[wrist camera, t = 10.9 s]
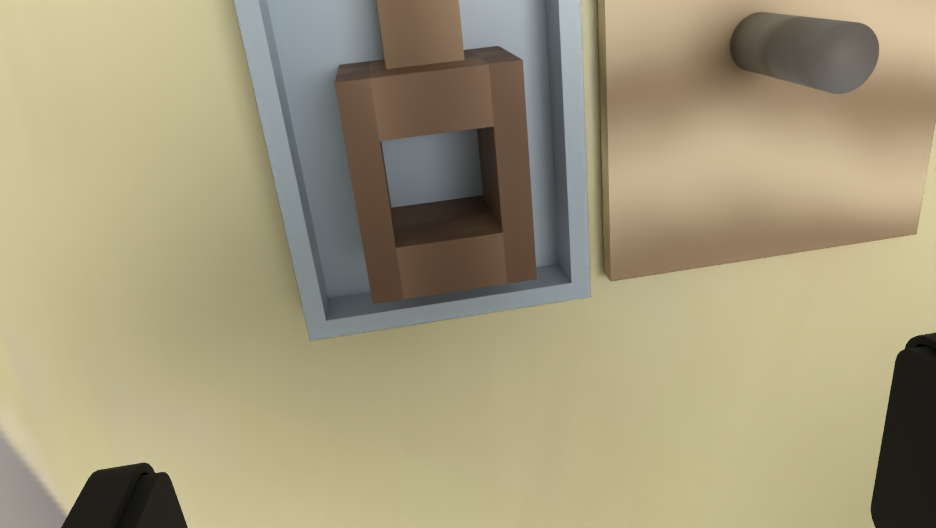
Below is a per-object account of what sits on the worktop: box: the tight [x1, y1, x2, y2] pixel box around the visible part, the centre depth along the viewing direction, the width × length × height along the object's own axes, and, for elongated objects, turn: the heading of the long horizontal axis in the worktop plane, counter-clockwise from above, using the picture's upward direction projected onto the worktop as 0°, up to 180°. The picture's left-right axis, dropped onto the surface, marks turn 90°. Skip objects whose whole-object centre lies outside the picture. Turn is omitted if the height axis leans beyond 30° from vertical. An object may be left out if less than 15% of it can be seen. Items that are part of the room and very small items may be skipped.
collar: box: [335, 0, 537, 304], centre depth 22 cm, size 5×10×4 cm, turn 6°
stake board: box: [598, 0, 936, 281], centre depth 23 cm, size 13×13×6 cm
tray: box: [234, 0, 591, 341], centre depth 24 cm, size 14×10×2 cm
